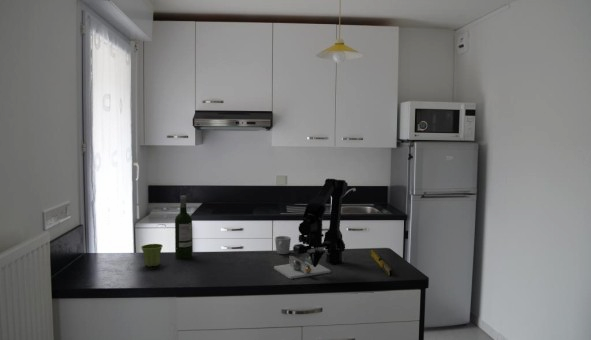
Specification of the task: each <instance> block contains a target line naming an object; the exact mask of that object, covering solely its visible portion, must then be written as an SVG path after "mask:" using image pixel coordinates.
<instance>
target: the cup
mask: <svg viewBox="0 0 591 340" xmlns="http://www.w3.org/2000/svg"><path fill="white" fill-rule="evenodd" d="M291 239H292V238H291V237H290V236H288V235H287V236H286V235H279V236H276V237H275V238H274V241H275V252H276V253H277V254H278V255H288V254H289V253H290V249H291V248H290V247H291Z"/></svg>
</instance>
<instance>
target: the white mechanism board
mask: <svg viewBox="0 0 591 340" xmlns="http://www.w3.org/2000/svg"><path fill="white" fill-rule="evenodd" d="M304 262H305V263H306V264H308V265H310V268H311V272H310V273H309V274H306V273H304V272H302V271H298V270H294V269H293V266H292V265H290V264H289V263H286V264H281V265H280V264H279V265H274V266H273V269H274V270H276V271H277V272H278V273H279V274H281V275H283V276H285V277H286V278H288V279H289V278H290V279H289V280H293V278H294V279H298V278H304V277H310V276H312V277H313V276H317V275H323V274H330V273H331V269H329V268H327V267H325V266H323V265H321V264H320V263H318V264H317V266H316V267H314V266H313V264H312V261H311V258H310V256H309V257H305V258H304Z"/></svg>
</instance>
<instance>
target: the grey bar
mask: <svg viewBox="0 0 591 340" xmlns="http://www.w3.org/2000/svg"><path fill="white" fill-rule="evenodd" d="M288 264H290V265H292V266H293V269H294V270H298V271H302V272H304V273H306V274H309V273H310V272H311V268H310V265H308V264H306V263H305V261H302V260H301V259H299V258H297V257H295V256H294V255H289V256H288Z"/></svg>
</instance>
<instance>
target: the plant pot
mask: <svg viewBox="0 0 591 340" xmlns="http://www.w3.org/2000/svg"><path fill="white" fill-rule="evenodd" d="M162 248H163V244H161V243H149V244H144V245H141V247H140V249H141V250H142V253H143V259H144V265H145V266H146V267H152V266H153V267H156V266H160V262H161V253H162Z"/></svg>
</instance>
